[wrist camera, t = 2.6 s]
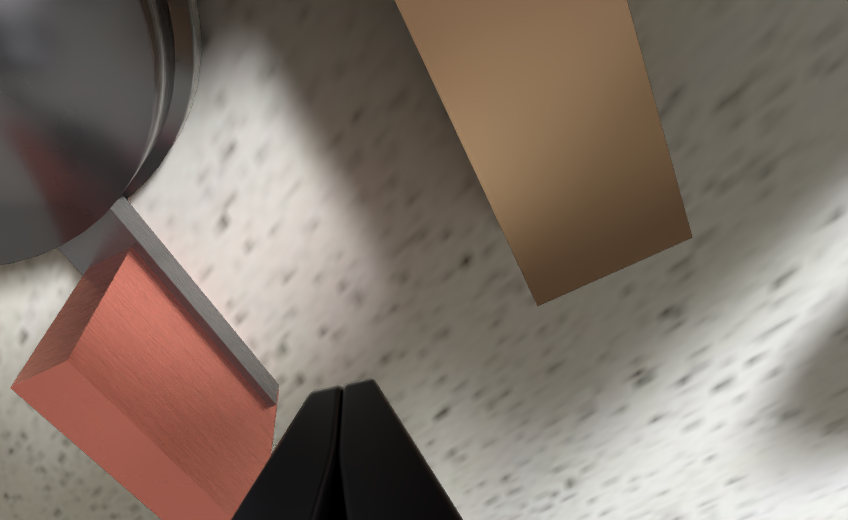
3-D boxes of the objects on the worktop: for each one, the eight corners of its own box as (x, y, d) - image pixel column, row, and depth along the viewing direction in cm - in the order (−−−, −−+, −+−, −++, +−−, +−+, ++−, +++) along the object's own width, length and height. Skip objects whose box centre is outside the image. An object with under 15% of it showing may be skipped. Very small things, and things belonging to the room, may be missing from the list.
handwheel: (400, 334, 18) (420, 478, 14) (129, 457, 19) (67, 625, 15) (-65, -396, 10) (-382, -613, 5) (-486, -105, 11) (-1019, -94, 7)
